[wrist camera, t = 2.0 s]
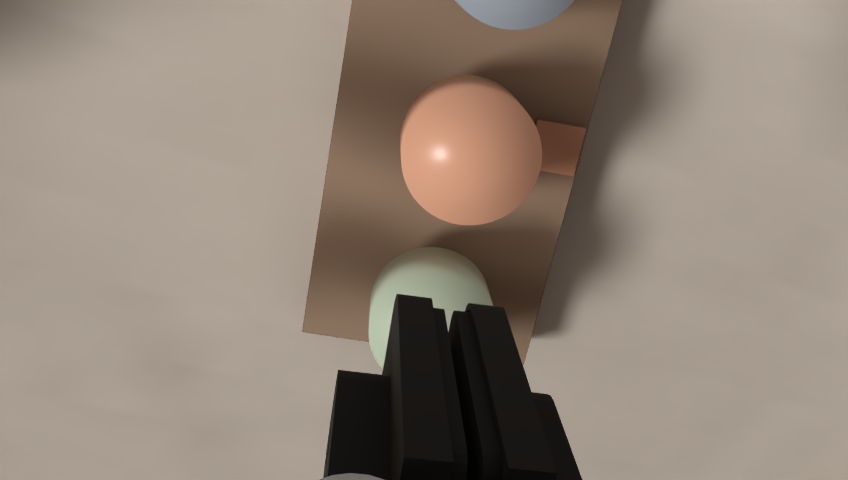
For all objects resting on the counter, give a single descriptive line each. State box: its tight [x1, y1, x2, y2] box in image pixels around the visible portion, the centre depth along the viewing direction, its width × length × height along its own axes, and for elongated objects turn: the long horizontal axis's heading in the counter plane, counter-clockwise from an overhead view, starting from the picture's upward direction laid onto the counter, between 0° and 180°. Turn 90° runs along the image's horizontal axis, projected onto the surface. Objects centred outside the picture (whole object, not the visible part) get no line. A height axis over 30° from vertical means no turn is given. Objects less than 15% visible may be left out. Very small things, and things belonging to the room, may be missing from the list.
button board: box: [302, 0, 622, 365], centre depth 28 cm, size 18×9×2 cm, turn 169°
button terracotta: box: [400, 75, 542, 225], centre depth 25 cm, size 4×4×2 cm
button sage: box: [368, 247, 493, 369], centre depth 27 cm, size 4×4×2 cm
